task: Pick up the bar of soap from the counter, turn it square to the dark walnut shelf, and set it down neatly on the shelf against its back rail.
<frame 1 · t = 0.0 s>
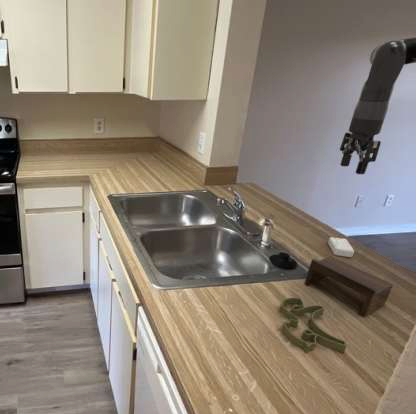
hand: (351, 169, 103), 30 cm above the worktop, tool pointing down, fingers open, 8 cm apart
cookie cutter: (305, 327, 83), on the worktop
shelf: (342, 294, 94), on the worktop
soap: (339, 251, 117), on the worktop
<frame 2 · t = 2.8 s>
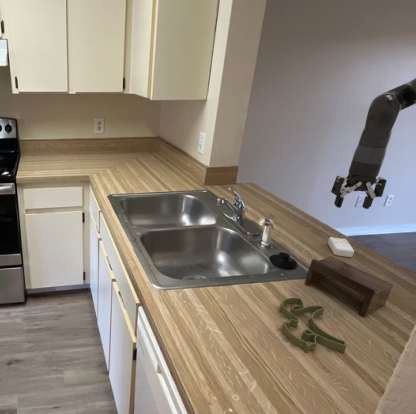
hand: (351, 207, 110), 17 cm above the worktop, tool pointing down, fingers open, 8 cm apart
nothing on the worktop moved.
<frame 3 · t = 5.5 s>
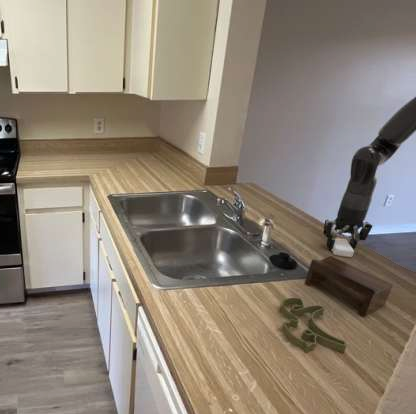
hand: (339, 248, 116), 1 cm above the worktop, tool pointing down, fingers closed on soap, 6 cm apart
soap: (338, 251, 117), on the worktop, touching gripper
everything else where it was.
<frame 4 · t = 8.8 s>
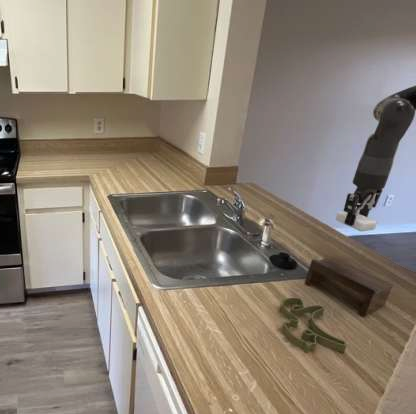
hand: (354, 222, 102), 16 cm above the worktop, tool pointing down, fingers closed on soap, 6 cm apart
soap: (353, 225, 102), point 15 cm above the worktop, touching gripper
everything else where it was.
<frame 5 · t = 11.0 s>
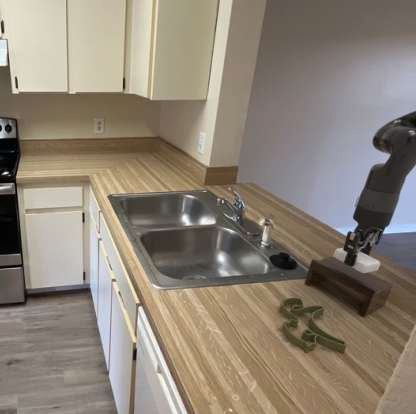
hand: (355, 261, 90), 11 cm above the worktop, tool pointing down, fingers closed on soap, 6 cm apart
soap: (354, 264, 91), point 10 cm above the worktop, touching gripper
everything else where it was.
when the fingers open (8 cm above the worktop, at t = 12.5 s): soap stays where it is, resting on shelf.
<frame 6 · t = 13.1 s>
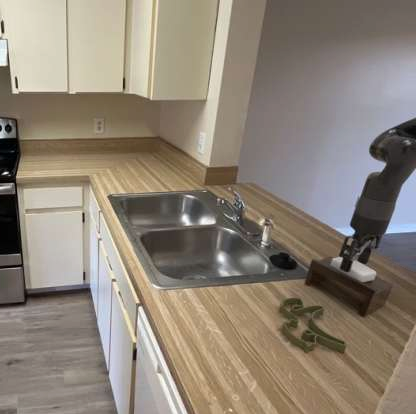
hand: (353, 266, 91), 9 cm above the worktop, tool pointing down, fingers open, 8 cm apart
soap: (350, 273, 92), point 7 cm above the worktop, touching shelf
everything else where it was.
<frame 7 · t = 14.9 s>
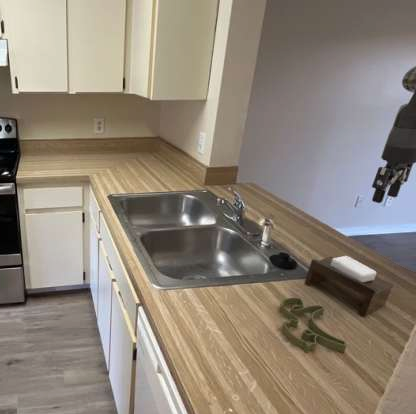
hand: (384, 199, 96), 24 cm above the worktop, tool pointing down, fingers open, 8 cm apart
nothing on the worktop moved.
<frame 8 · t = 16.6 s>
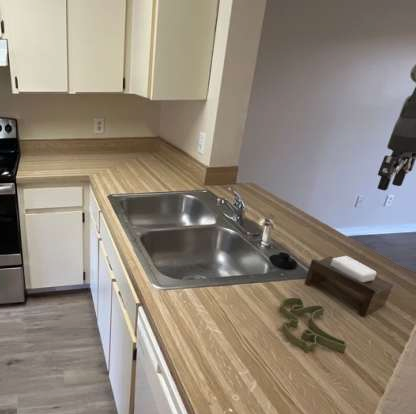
hand: (389, 187, 100), 26 cm above the worktop, tool pointing down, fingers open, 8 cm apart
nothing on the worktop moved.
at the end: soap 0.3 cm off-centre on the shelf, point 6.8 cm above the shelf's base; soap tilted 0°; the gripper is holding nothing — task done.
